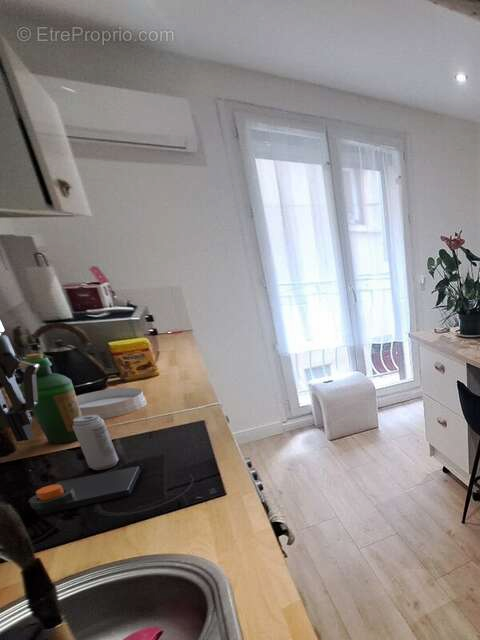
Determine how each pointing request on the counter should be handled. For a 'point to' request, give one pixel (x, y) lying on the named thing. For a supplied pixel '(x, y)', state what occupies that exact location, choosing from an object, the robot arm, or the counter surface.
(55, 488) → the tare button
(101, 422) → the energy drink can
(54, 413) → the bottle
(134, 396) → the dish
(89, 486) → the scale
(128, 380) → the counter surface
